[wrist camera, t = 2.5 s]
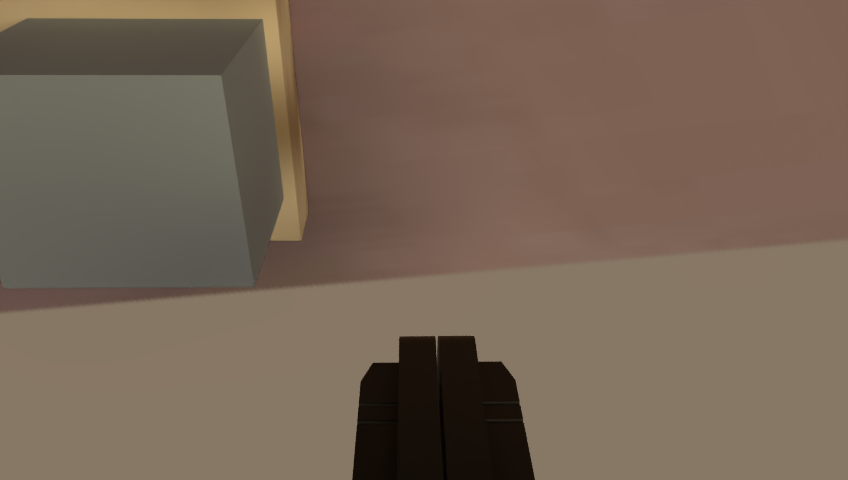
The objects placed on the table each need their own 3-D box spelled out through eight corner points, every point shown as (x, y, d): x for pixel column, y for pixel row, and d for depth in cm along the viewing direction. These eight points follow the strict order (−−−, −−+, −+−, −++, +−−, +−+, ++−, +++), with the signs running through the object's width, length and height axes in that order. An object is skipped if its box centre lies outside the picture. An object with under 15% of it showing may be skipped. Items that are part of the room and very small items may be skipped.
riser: (-28, -58, 24) (-70, -45, 22) (282, -56, 24) (270, -44, 22) (60, 211, 30) (33, 241, 27) (308, 210, 30) (300, 240, 28)
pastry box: (27, 18, 23) (-83, 74, 18) (262, 19, 23) (221, 75, 18) (81, 198, 26) (4, 288, 21) (283, 198, 27) (254, 287, 22)
